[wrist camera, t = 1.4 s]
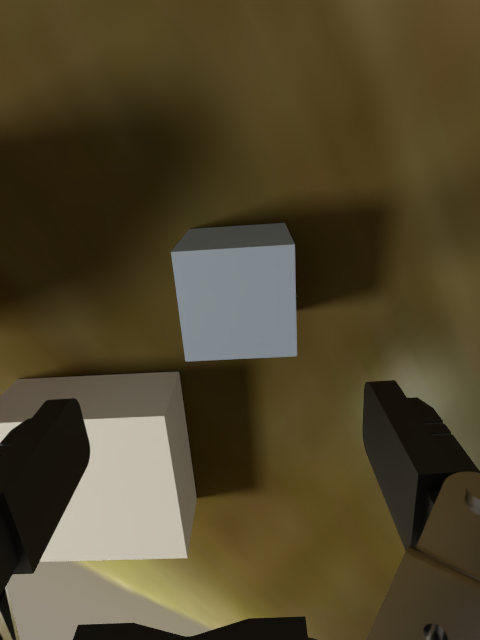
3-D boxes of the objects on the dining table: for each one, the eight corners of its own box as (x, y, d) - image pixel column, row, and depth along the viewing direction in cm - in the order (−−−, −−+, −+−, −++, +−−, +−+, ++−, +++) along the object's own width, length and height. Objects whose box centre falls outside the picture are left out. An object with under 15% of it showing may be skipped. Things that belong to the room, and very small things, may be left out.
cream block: (178, 371, 28) (164, 416, 23) (196, 498, 32) (187, 558, 27) (17, 379, 28) (-29, 424, 24) (55, 503, 32) (22, 562, 28)
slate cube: (284, 222, 24) (294, 244, 18) (287, 312, 26) (297, 356, 20) (189, 228, 24) (170, 252, 19) (199, 316, 26) (185, 361, 21)
